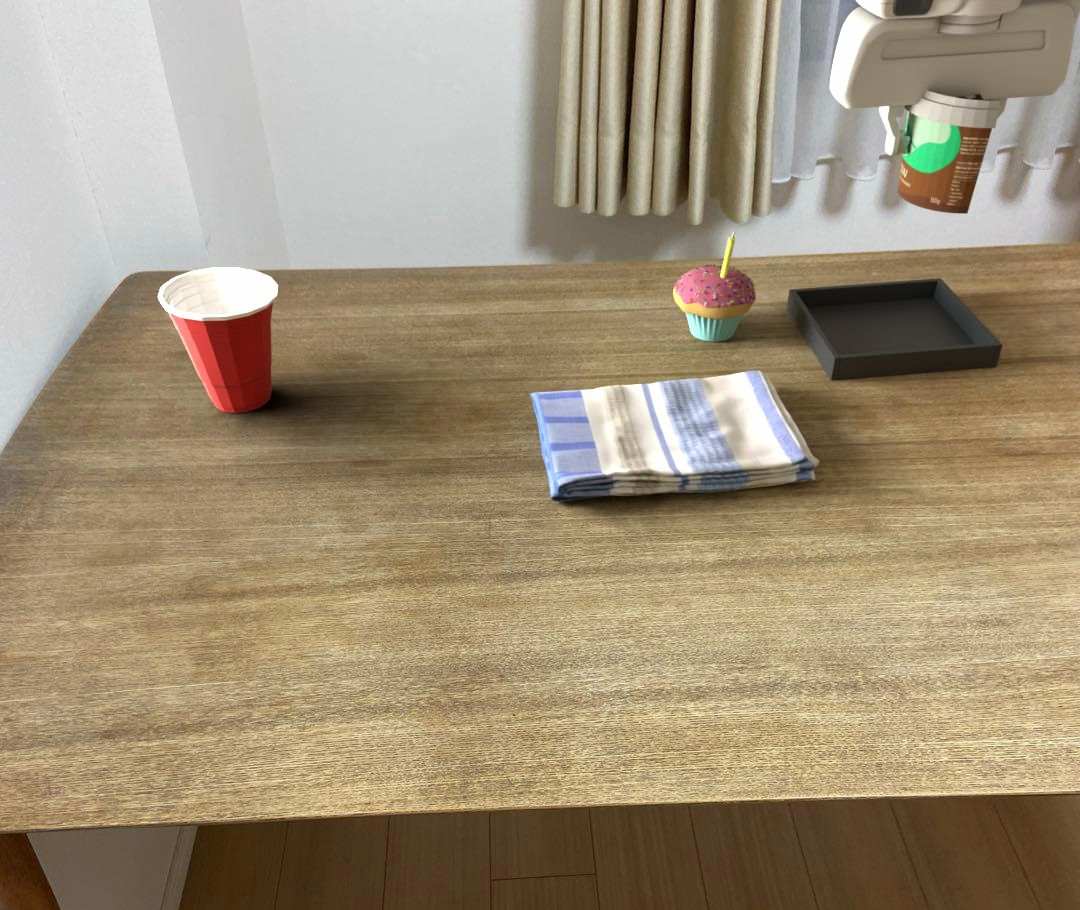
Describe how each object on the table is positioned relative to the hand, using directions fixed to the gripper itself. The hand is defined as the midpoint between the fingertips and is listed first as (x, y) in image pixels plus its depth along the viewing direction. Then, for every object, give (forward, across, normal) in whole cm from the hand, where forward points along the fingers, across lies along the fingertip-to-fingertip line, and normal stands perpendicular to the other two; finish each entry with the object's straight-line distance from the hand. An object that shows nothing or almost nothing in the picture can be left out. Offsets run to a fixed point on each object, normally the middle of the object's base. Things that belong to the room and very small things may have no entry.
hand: (932, 150), depth 93 cm
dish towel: (+20, +26, +13) cm, 36 cm away
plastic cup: (+20, +66, -1) cm, 69 cm away
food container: (+4, 0, 0) cm, 4 cm away
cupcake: (+21, +17, -7) cm, 28 cm away
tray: (+20, -1, -3) cm, 21 cm away
